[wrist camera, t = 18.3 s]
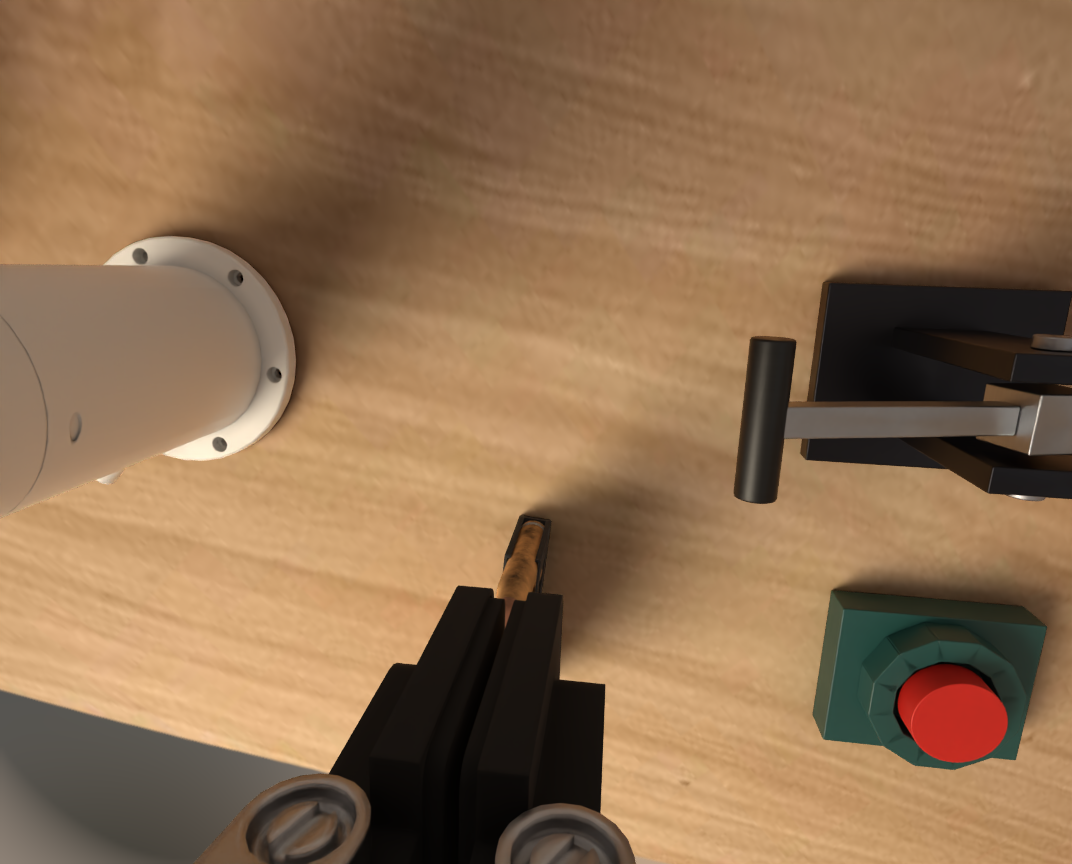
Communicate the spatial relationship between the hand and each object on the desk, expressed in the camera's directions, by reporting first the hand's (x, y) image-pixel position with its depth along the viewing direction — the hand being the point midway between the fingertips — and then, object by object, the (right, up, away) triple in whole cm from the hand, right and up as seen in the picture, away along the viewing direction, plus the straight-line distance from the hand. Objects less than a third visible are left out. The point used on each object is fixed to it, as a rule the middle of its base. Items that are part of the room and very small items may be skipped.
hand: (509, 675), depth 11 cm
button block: (+22, -9, +28) cm, 36 cm away
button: (+21, -10, +24) cm, 34 cm away
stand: (+20, +7, +24) cm, 32 cm away
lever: (+14, +5, +14) cm, 20 cm away
